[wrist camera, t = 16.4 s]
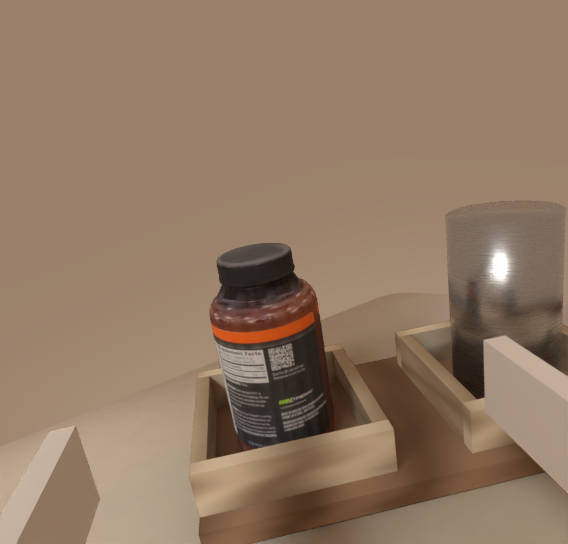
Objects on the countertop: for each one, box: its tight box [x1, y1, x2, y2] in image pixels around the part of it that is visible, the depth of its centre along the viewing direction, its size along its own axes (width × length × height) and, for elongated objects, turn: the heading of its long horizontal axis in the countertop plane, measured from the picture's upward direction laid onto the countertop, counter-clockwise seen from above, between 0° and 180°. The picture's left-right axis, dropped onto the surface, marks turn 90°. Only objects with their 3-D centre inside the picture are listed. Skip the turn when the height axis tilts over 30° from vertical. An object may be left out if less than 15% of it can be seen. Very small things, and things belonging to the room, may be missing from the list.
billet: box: [445, 201, 566, 399], centre depth 27 cm, size 6×6×11 cm
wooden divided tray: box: [189, 321, 568, 544], centre depth 27 cm, size 24×12×4 cm, turn 98°
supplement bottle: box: [210, 243, 335, 451], centre depth 25 cm, size 6×6×11 cm
